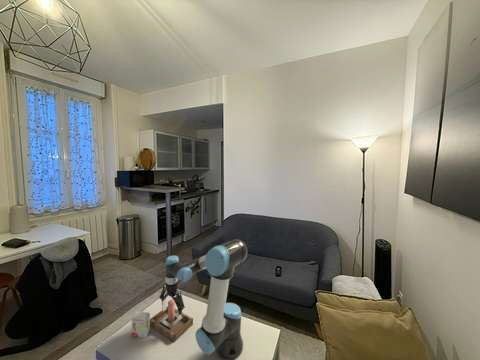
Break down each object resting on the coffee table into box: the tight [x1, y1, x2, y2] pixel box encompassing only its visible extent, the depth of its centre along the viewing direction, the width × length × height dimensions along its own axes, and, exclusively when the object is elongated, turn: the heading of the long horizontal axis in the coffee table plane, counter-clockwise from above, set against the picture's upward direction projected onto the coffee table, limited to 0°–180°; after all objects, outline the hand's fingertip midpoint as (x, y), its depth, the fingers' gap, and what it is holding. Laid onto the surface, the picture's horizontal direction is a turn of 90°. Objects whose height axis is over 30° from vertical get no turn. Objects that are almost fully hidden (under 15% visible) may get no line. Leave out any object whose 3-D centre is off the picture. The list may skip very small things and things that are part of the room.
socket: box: [159, 313, 183, 331], centre depth 124 cm, size 10×10×3 cm
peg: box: [167, 299, 176, 324], centre depth 123 cm, size 4×4×14 cm
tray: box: [150, 305, 194, 343], centre depth 124 cm, size 22×15×4 cm
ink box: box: [131, 311, 151, 338], centre depth 116 cm, size 9×5×12 cm, turn 88°
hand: (171, 314), depth 123 cm, fingers open, 13 cm apart
